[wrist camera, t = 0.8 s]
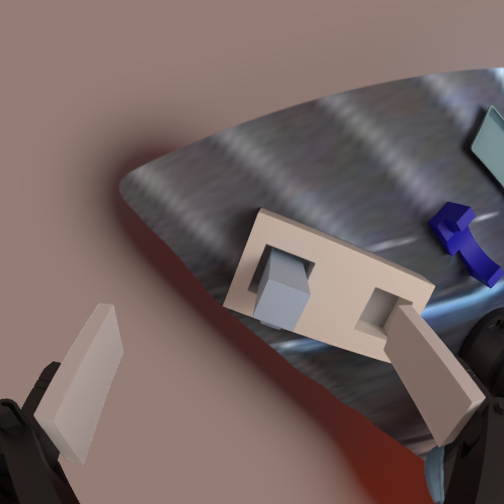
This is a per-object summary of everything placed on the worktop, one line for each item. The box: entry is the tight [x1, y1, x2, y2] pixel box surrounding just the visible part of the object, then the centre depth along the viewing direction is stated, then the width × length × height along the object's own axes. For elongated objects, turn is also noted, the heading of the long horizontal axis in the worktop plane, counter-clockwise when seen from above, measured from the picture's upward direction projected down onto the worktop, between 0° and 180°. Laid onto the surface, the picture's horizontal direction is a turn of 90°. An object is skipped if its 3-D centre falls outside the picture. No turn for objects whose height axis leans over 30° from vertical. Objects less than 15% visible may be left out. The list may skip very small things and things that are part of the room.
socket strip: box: [223, 207, 435, 363], centre depth 37 cm, size 24×12×5 cm, turn 69°
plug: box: [252, 247, 311, 332], centre depth 33 cm, size 4×5×12 cm
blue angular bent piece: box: [428, 202, 504, 288], centre depth 34 cm, size 12×4×6 cm, turn 44°
